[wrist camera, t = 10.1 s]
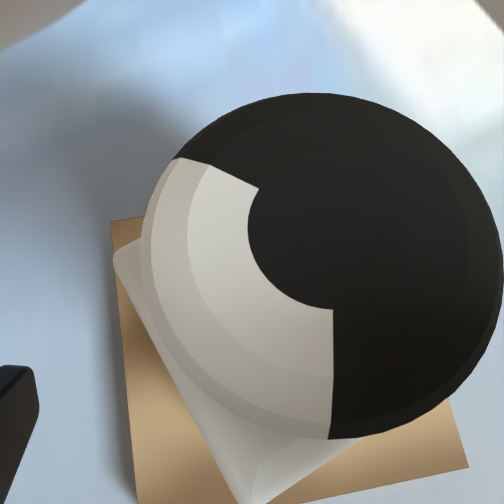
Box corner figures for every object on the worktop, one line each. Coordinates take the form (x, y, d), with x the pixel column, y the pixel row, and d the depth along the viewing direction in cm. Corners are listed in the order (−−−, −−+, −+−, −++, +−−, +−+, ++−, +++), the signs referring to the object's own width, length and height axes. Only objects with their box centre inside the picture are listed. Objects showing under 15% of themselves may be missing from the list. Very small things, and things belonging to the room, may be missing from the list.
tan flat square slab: (446, 461, 19) (468, 467, 17) (151, 524, 18) (140, 537, 16) (369, 197, 23) (380, 177, 21) (121, 237, 22) (110, 221, 20)
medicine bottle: (303, 224, 20) (383, -19, 9) (402, 372, 18) (672, 310, 7) (153, 308, 19) (15, 153, 7) (244, 476, 17) (246, 616, 5)
